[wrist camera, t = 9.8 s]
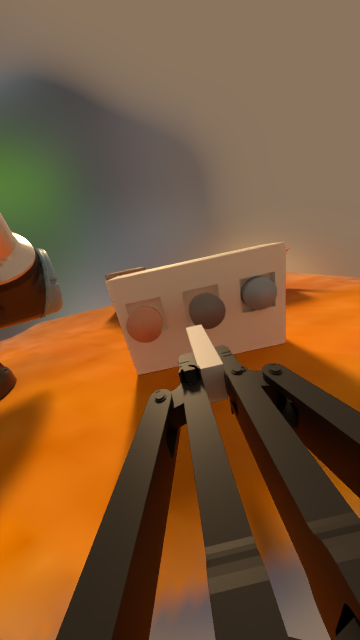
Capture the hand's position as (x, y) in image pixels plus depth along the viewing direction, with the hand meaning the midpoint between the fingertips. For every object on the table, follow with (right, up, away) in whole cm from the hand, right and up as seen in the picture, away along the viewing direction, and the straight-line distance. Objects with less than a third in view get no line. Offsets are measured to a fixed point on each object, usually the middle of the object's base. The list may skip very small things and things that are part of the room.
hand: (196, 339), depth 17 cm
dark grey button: (+10, +4, +9) cm, 14 cm away
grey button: (+2, +1, +6) cm, 7 cm away
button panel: (+3, -4, +13) cm, 14 cm away
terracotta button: (-5, -1, +6) cm, 9 cm away
